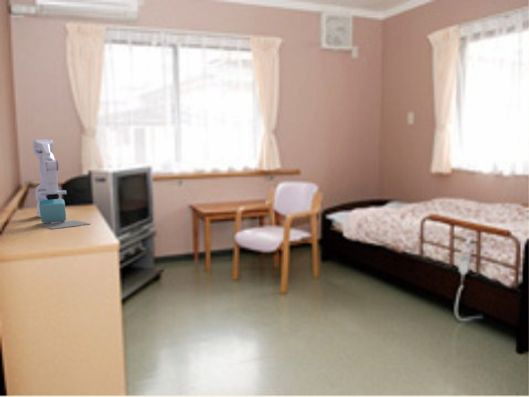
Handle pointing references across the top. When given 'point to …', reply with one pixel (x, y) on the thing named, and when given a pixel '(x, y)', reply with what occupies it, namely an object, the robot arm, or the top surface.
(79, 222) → the mat
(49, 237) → the top surface
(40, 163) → the robot arm
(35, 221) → the top surface
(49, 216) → the blue square block
